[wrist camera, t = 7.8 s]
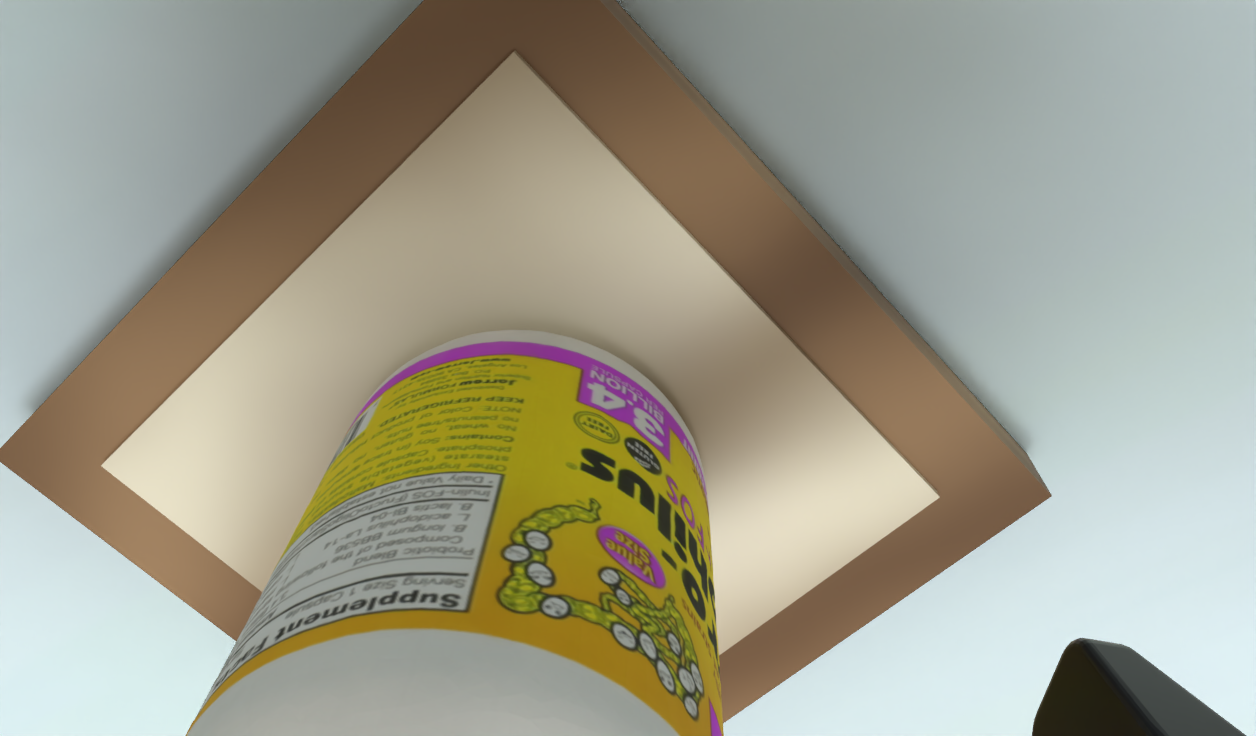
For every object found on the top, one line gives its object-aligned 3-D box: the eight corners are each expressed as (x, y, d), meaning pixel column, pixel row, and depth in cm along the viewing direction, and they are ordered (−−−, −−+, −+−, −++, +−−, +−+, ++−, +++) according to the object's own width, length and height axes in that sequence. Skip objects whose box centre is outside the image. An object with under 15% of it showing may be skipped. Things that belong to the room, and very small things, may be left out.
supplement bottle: (747, 580, 22) (846, 1415, 10) (427, 659, 23) (192, 1501, 11) (644, 266, 19) (623, 915, 8) (287, 370, 20) (-203, 1083, 9)
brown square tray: (1026, 453, 23) (1054, 501, 21) (531, 805, 27) (523, 867, 25) (524, -101, 19) (511, -95, 17) (34, 417, 23) (-13, 461, 21)
